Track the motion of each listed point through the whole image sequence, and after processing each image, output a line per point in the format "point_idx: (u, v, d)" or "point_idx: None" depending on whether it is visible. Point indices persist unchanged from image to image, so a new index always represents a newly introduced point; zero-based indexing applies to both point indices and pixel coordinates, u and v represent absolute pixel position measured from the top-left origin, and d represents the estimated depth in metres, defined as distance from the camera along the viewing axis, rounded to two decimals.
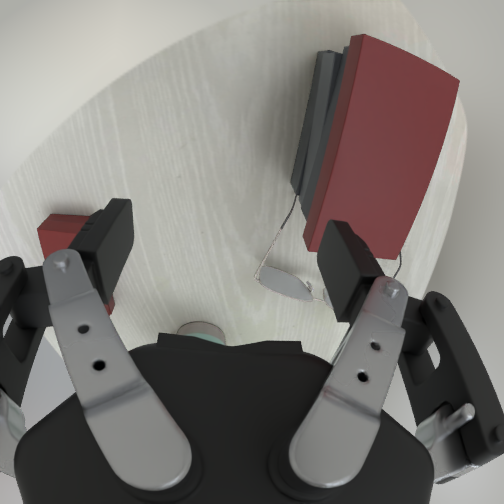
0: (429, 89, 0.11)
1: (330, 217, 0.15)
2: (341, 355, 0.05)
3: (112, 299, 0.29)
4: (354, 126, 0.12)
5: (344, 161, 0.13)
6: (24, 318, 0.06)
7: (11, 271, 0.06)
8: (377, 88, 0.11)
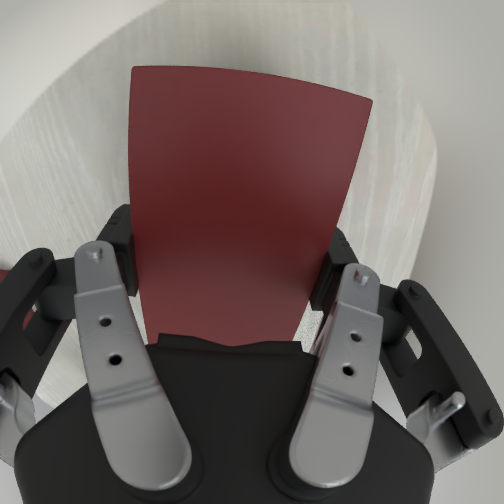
0: (291, 133, 0.07)
1: (160, 332, 0.11)
2: (323, 351, 0.05)
3: None
4: (147, 228, 0.08)
5: (150, 274, 0.09)
6: (49, 311, 0.07)
7: (41, 262, 0.06)
8: (171, 159, 0.07)
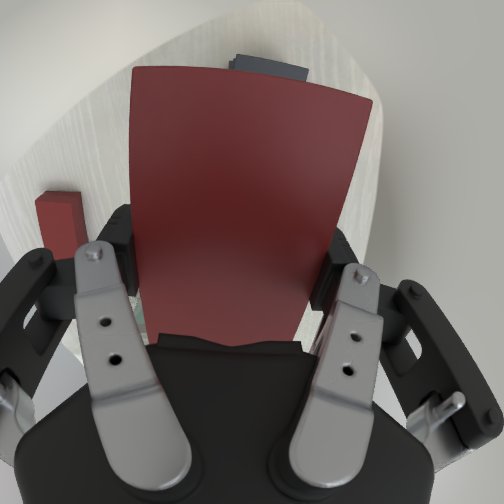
0: (291, 134, 0.07)
1: (161, 332, 0.11)
2: (323, 351, 0.05)
3: None
4: (148, 228, 0.08)
5: (150, 274, 0.09)
6: (49, 311, 0.07)
7: (41, 262, 0.06)
8: (172, 159, 0.07)
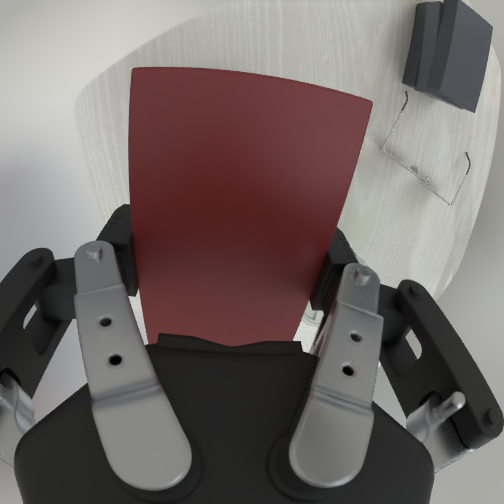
0: (291, 135, 0.07)
1: None
2: (323, 351, 0.05)
3: None
4: (148, 229, 0.08)
5: (150, 275, 0.09)
6: (49, 311, 0.07)
7: (41, 262, 0.06)
8: (171, 161, 0.07)
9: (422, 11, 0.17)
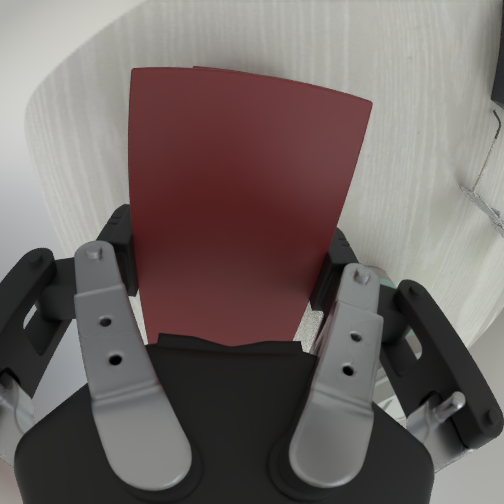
0: (291, 135, 0.07)
1: None
2: (323, 351, 0.05)
3: None
4: (147, 229, 0.08)
5: (150, 276, 0.09)
6: (49, 311, 0.07)
7: (41, 262, 0.06)
8: (171, 161, 0.07)
9: None
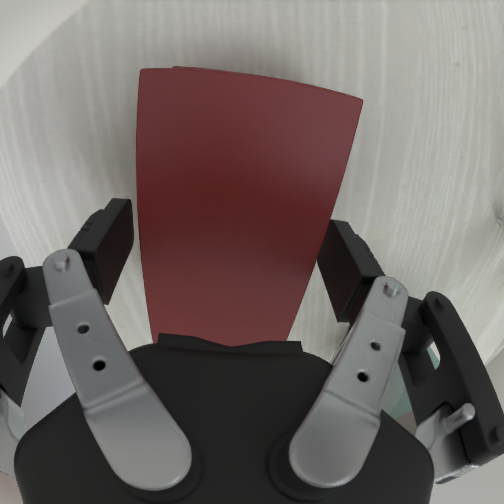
0: (287, 131, 0.07)
1: (163, 322, 0.12)
2: (341, 355, 0.05)
3: None
4: (153, 219, 0.09)
5: (154, 264, 0.10)
6: (24, 318, 0.06)
7: (11, 271, 0.06)
8: (176, 155, 0.08)
9: None
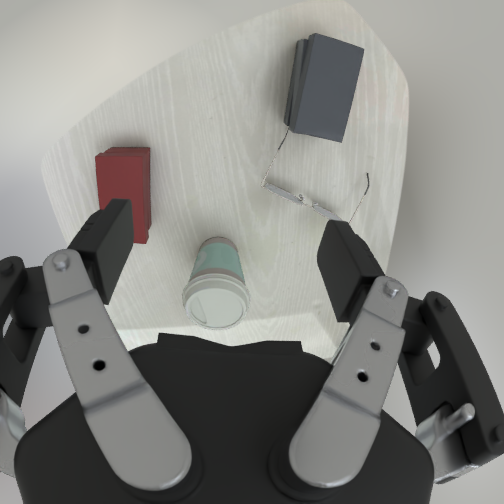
0: (126, 167, 0.30)
1: None
2: (341, 355, 0.05)
3: (150, 218, 0.39)
4: (101, 192, 0.32)
5: (102, 205, 0.33)
6: (24, 318, 0.06)
7: (11, 271, 0.06)
8: (104, 175, 0.31)
9: (298, 49, 0.27)
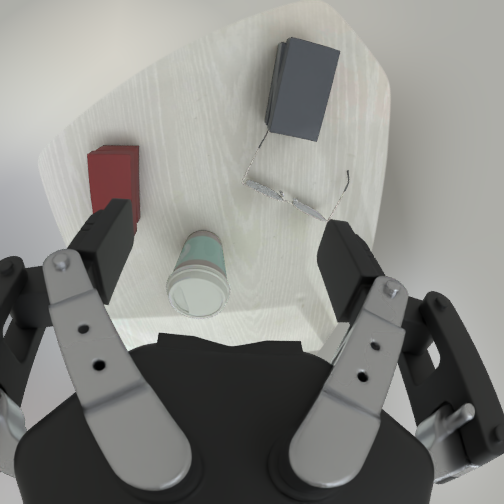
0: (116, 165, 0.32)
1: None
2: (341, 355, 0.05)
3: (139, 212, 0.41)
4: (93, 187, 0.33)
5: (94, 199, 0.35)
6: (24, 318, 0.06)
7: (11, 271, 0.06)
8: (96, 172, 0.32)
9: None
